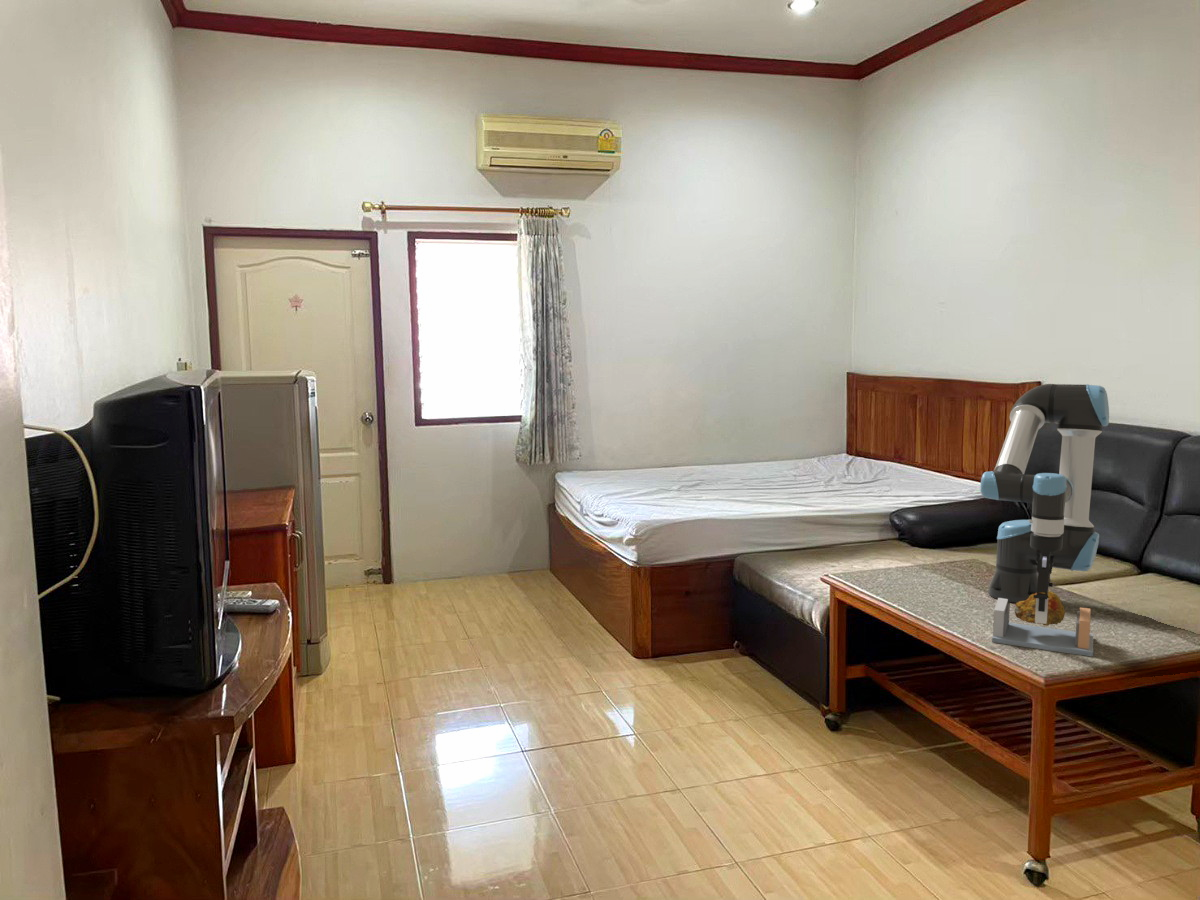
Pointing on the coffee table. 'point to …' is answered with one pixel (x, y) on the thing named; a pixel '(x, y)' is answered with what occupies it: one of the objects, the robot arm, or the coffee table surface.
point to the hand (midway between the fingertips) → (1041, 616)
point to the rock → (1028, 608)
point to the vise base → (1034, 634)
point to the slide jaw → (1083, 628)
